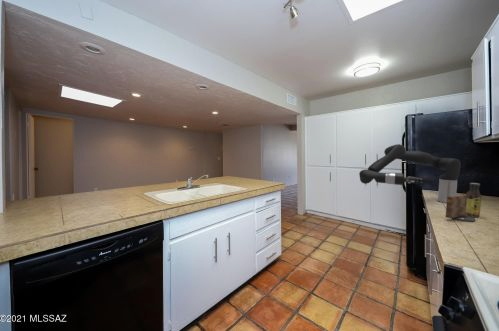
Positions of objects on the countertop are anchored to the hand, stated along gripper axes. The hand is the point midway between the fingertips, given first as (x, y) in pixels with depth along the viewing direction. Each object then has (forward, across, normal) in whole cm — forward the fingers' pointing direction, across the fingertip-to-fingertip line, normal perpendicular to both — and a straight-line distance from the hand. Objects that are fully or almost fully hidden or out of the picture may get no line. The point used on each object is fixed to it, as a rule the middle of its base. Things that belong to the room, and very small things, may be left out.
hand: (430, 181), depth 111 cm
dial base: (+14, +6, +22) cm, 26 cm away
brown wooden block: (+12, +2, +20) cm, 23 cm away
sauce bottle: (+20, +16, +22) cm, 34 cm away
